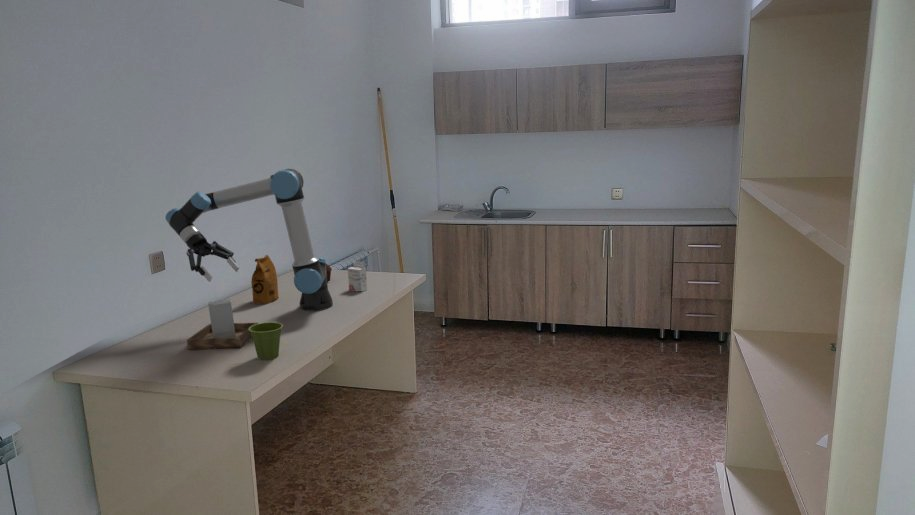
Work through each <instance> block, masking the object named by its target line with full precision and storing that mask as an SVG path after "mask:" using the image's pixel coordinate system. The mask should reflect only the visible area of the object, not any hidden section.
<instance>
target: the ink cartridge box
mask: <svg viewBox="0 0 915 515" xmlns="http://www.w3.org/2000/svg"><path fill="white" fill-rule="evenodd" d="M347 276H348V280H347V281H348V290H349V291H352V290H354V292H358V291H362V292H365V291H368V284H367V283H368V282H367V268H366V262H364V261H357V260H353V266H351V267H348V268H347ZM364 290H365V291H364Z"/></svg>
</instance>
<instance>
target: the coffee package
mask: <svg viewBox="0 0 915 515" xmlns="http://www.w3.org/2000/svg"><path fill="white" fill-rule="evenodd" d="M254 262H256V266H255V269H254V272H253V273H252V275H251V290H252V301H253V303H254V304H259V303H261V304H262V305H265V304H266V305H269V304H270V303H271V302H274V301H277V299H279V286H278V277H277V271H276V266H275V265H274V262H273V261H272V259H271V258H270V256H269V254H266V255H264V257H258V258H255V259H254Z"/></svg>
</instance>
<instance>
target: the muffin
mask: <svg viewBox="0 0 915 515" xmlns="http://www.w3.org/2000/svg"><path fill="white" fill-rule="evenodd" d="M326 272H327V283H329V282H328V281H330V282H331V278H332V277H331V274H332V267H331V266H330V265H329V264H327V263H326Z"/></svg>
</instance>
